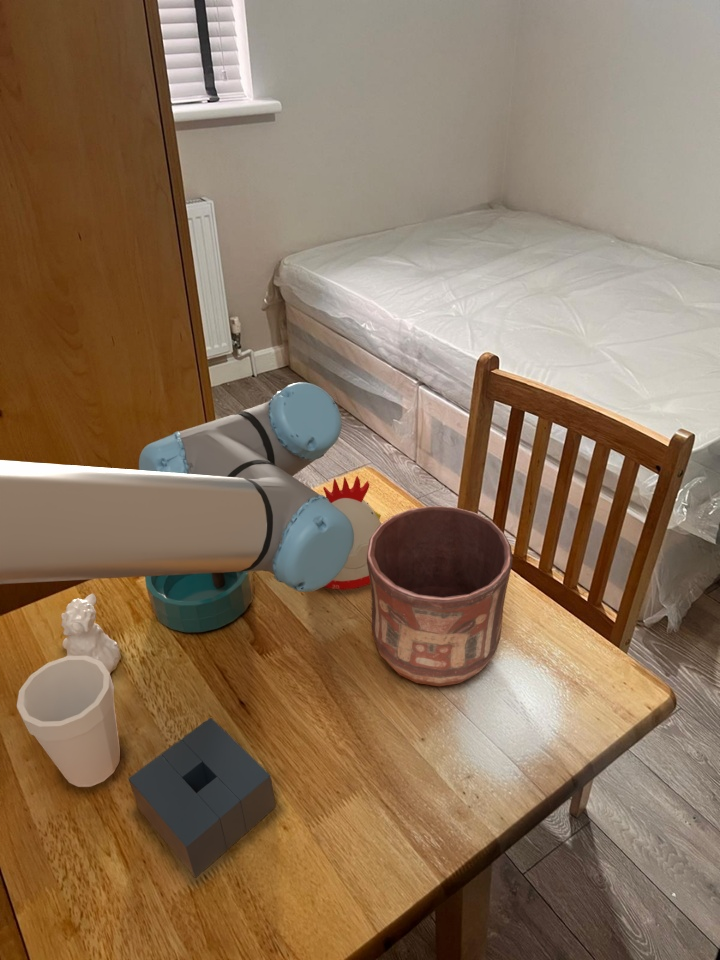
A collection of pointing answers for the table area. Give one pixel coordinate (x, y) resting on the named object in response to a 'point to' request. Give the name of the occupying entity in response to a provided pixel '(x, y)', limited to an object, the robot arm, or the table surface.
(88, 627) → the white creature statuette
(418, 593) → the pottery
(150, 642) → the table surface
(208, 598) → the bowl
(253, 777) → the holder
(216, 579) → the brown rod
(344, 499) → the kitchen timer
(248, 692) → the table surface
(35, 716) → the foam cup
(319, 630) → the table surface
